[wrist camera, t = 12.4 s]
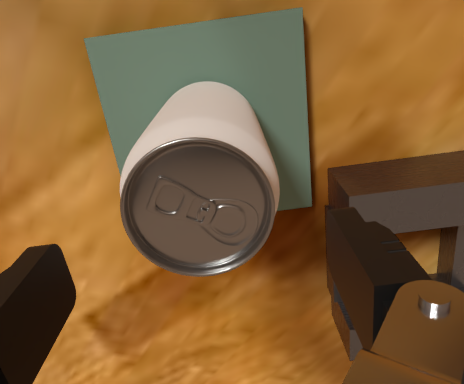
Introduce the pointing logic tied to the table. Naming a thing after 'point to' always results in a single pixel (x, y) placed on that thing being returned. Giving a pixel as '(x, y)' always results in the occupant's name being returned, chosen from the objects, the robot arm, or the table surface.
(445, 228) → the block
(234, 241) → the can
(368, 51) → the table surface
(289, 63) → the mat
